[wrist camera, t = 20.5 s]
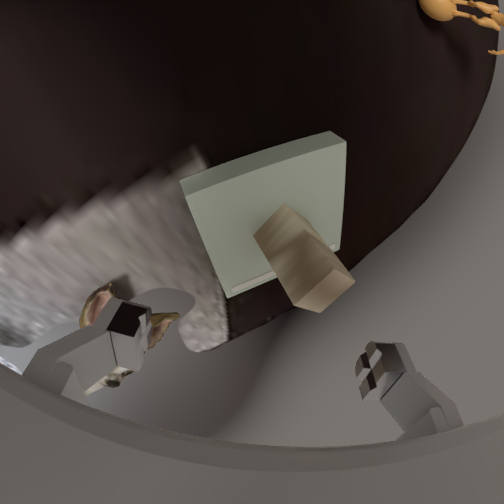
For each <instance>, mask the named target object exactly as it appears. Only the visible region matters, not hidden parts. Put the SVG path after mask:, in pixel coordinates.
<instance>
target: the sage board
mask: <svg viewBox="0 0 504 504" xmlns="http://www.w3.org/2000/svg"><path fill="white" fill-rule="evenodd" d="M345 170H346V141H345V140H343V139H342V138H340V137H339V136H337V135H336V134H334V133H333V132H331V131H327V132H323V133H319V134H315V135H312V136H308V137H305V138H301V139H297V140H294V141H291V142H287V143H284V144H281V145H277V146H274V147H271V148H268V149H265V150H261V151H258V152H255V153H252V154H249V155H246V156H243V157H240V158H237V159H235V160H232V161H229V162H226V163H223V164H221V165H218V166H215V167H212V168H210V169H207V170H204V171H202V172H199V173H196V174H194V175H191V176H189V177H186V178H184V179H181V180H179V182H180V185H181V187H182V190H183V193H184V196H185V198H186V201H187V203H188V206H189V208H190V211H191V213H192V216H193V218H194V221H195V223H196V226H197V228H198V231H199V233H200V236H201V238H202V240H203V243H204V245H205V248H206V250H207V252H208V255H209V257H210V259H211V262H212V264H213V267H214V269H215V271H216V274H217V276H218V278H219V280H220V283H221V285H222V287H223V290H224V292H225V294H226V297H227V298H230V297H232V296H235V295H237V294H239V293H242V292H244V291H246V290H249V289H251V288H254V287H256V286H258V285H261V284H263V283H265V282H267V281H270V280H272V279H274V278H277V276H276V274H275V272H274V271H273V269H272V267H271V265H270V264H269V262H268V260H267V259H266V257H265V255H264V254H263V252H262V250H261V248H260V247H259V245H258V243H257V242H256V240H255V238H254V237H253V235H254V234H255V233H256V232H257V230H258V229H259V228H260V227H261V226H262V225H263V224H264V223H265V222H266V221H267V220H268V219H269V218H270V217H271V216H272V215H273V214H274V212H275V211H276V210H277V209H278V208H279V207H280V206H281V205H282V204H283V203H285V204H286V205H287V206H289V207H290V208H291V209H293V210H294V211H295V212H297V213H298V214H300V215H301V216H302V217H304V218H305V219H306V220H308V221H309V223H310V224H311V225H312V226H313V227H314V229H315V230H316V231H317V232H318V234H319V235H320V236H321V237H322V239H323V240H324V241H325V242H326V244H327V245H328V246H329V247H330V249H331V250H332V251H333V252H335V251H337V250H339V249H340V239H341V229H342V217H343V204H344V189H345Z"/></svg>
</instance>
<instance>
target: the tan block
mask: <svg viewBox="0 0 504 504" xmlns="http://www.w3.org/2000/svg"><path fill="white" fill-rule="evenodd" d="M253 237H254V238H255V240H256V242H257V243H258V245H259V247H260V248H261V250H262V252H263V254H264V255H265V257H266V259H267V260H268V262H269V264H270V265H271V267H272V269H273V271H274V272H275V274H276V276H277V277H278V279H279V281H280V283H281V284H282V286H283V288H284V289H285V291H286V293H287V295H288V296H289V298H290V300H291V301H292V303H293V305H294V306H297V307H301V308H304V309H308V310H312V311H315V312H318V313H321V312H322V311H323V310H324V309H325V308H327V307H328V306H329V305H330V304H331V303H332V302H333V301H335V300H336V299H337V298H338V297H339V296H340V295H341V294H342V293H344V291H346V290H347V289H348V288H349V287H350V286H351V285H353V284H354V283H355V282H356V281H355V280H354V279H353V277H352V276H351V275H350V273H349V272H348V271H347V269H346V268H345V267H344V265H343V264H342V263H341V261H340V260H339V259H338V258H337V256H336V255H335V254H334V252H333V251H332V250H331V249H330V247H329V246H328V245H327V244H326V242H325V241H324V240H323V239H322V237H321V236H320V235H319V234H318V232H317V231H316V230H315V229H314V227H313V226H312V225H311V224H310V223H309V221H308V220H306V219H305V218H304V217H302V216H301V215H300V214H298V213H297V212H295V211H294V210H293V209H291V208H290V207H289V206H287V205H286V204H285V203H283V204H282V205H281V206H280V207H279V208H278V209H277V210H276V211H275V212H274V214H273V215H272V216H271V217H270V218H269V219H268V220H267V221H266V222H265V223H264V224H263V225H262V226H261V227H260V228H259V229H258V230H257V232H256V233H255V234H254V235H253Z"/></svg>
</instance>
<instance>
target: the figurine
mask: <svg viewBox="0 0 504 504" xmlns="http://www.w3.org/2000/svg"><path fill="white" fill-rule="evenodd" d="M418 1H419V4H420V6H421V8H422V10H423V11H424V12H425V13H426V14H427V15H428V16H430V17H431V18H433V19H435V20H439V21H448V20H451V19H452V18H453V17H454V16H462V17H468V18H471V20H472V21H474V22H476V23H477V24H479V25H482V26H484V27H490V28H493V29H495V30H497V31H500V30H501V28H500V27H499V26H498V25H501V26H504V14H502V13H498V12H497V11H499V8H498V7H497V6H495V5H489V4H486V3H483V2H473V1H469V2H467V1H463V0H418ZM456 4H463V5H470V6H471V7H477V8H479V9H480V10H482V11H483V12H484V13H487V14H491V15H490V17H491V18H492V19H490V18H487V17H483V18H481V19H477V18H476V16H474V15H470V14H467V13H463V12H459V11H457V8H456ZM493 51H494V50H492V51H489V53H491V54H495V55H501V54H504V50H500V51H498V52H496V51H494V52H493Z"/></svg>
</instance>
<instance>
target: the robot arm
mask: <svg viewBox="0 0 504 504" xmlns="http://www.w3.org/2000/svg"><path fill="white" fill-rule="evenodd" d="M151 316H152V313H151V308H150V307H148V306H144V305H141V304H137V303H133V302H129V301H126V300H121V299H118V298H114V297H112V298H110V299H109V300H108V302H107V303H106V305H105V306H104V308H103V309H102V311H101V312H100V314H99V316H98V317H97V319H96V320H95V322H94V323H93V325H92V326H90V325H87V326H85V327H83V328H81V329H79V330H77V331H75V332H73V333H71V334H69V335H67V336H65V337H63V338H61V339H59V340H57V341H55V342H53V343H51V344H49V345H47V346H45V347H43V348H41V349H39V350H38V351H37V352H36V354H35V355H34V357H33V358H32V360H31V361H30V363H29V365H28V366H27V368H26V369H25V371H24V372H23V374H22V375H20V374H19V373H17V372H15V371H13V370H12V369H10V368H8V367H6V366H5V365H3V364H1V363H0V504H504V413H502V414H499V415H496V416H493V417H491V418H488V419H485V420H482V421H479V422H476V423H473V424H469V425H466V426H464V425H463V422H462V419H461V417H460V415H459V412H458V409H457V407H456V405H455V403H454V402H453V401H452V400H451V399H449V398H448V397H447V396H446V395H445V394H444V393H443V392H442V391H440V390H439V389H438V388H437V387H436V386H435V385H434V384H432V383H431V382H430V381H429V380H428V379H427V378H426V377H424V376H423V375H422V374H421V373H420V372H417V371H416V369H415V367H414V365H413V362H412V360H411V358H410V355H409V353H408V351H407V349H406V347H405V345H404V344H403V343H393V342H392V343H391V342H374V341H371V342H370V343H368V344H367V346H366V348H365V350H366V352H365V353H364V354H362V355H361V356H360V357H359V358H358V360H357V363H356V367H355V373H356V377H357V379H358V380H359V381H360V382H361V384H360V386H359V389H360V393H361V397H362V400H380V402H381V403H382V404H383V406H384V407H385V408H386V410H387V411H388V412H389V413H390V415H391V416H392V417H393V418H394V419H395V421H396V422H397V423H398V425H399V426H400V427H401V428H402V430H403V431H404V433H403V434H402V435H400V436H399V437H398V438H397V439H396V441H390V442H382V443H373V444H364V445H350V446H330V447H291V446H290V447H289V446H269V445H257V444H246V443H237V442H228V441H221V440H215V439H209V438H202V437H197V436H192V435H187V434H181V433H177V432H172V431H168V430H164V429H159V428H156V427H152V426H148V425H144V424H141V423H137V422H134V421H130V420H127V419H124V418H121V417H118V416H115V415H112V414H109V413H106V412H103V411H100V410H98V409H94V408H92V407H91V406H90V404H89V402H88V400H87V398H86V396H85V394H84V392H85V391H86V390H87V389H89V388H90V387H91V386H93V385H94V384H95V383H97V382H98V381H99V380H101V379H102V378H103V377H105V376H106V375H107V374H109V373H110V372H111V371H113V370H114V369H115V368H117V366H119V367H123V368H127V369H130V370H134V371H139V370H140V367H141V365H142V362H143V360H144V351H145V350H147V349H148V347H149V344H150V341H151V336H152V324H151V322H150V321H149V320H150V318H151Z"/></svg>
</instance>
